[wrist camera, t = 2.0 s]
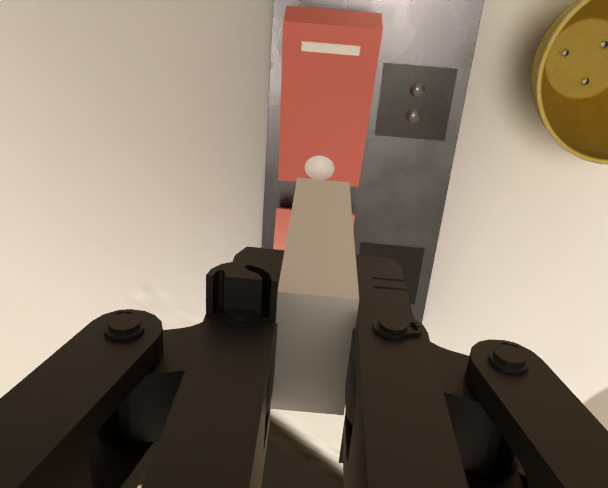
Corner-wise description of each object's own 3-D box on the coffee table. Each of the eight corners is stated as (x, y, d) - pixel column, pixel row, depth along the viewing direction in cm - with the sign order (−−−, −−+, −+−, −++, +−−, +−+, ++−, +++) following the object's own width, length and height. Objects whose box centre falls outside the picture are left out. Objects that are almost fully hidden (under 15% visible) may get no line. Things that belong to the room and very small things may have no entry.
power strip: (281, -35, 36) (273, -37, 31) (471, -19, 36) (494, -19, 31) (262, 316, 47) (254, 356, 42) (408, 329, 47) (417, 370, 42)
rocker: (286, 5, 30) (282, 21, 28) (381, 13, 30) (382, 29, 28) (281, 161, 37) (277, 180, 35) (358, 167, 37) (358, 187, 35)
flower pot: (472, 53, 38) (501, 68, 31) (610, -65, 34) (674, -75, 28) (556, 163, 40) (598, 198, 34) (691, 63, 37) (766, 81, 31)
